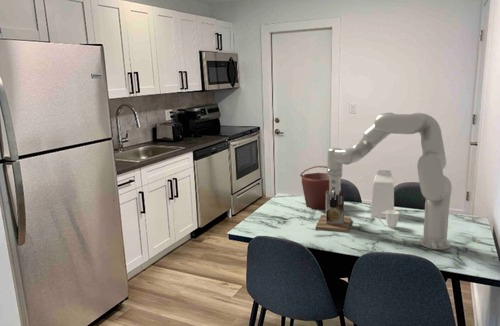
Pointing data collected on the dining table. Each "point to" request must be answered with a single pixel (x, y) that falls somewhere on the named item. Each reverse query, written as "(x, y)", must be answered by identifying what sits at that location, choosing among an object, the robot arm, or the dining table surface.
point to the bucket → (315, 189)
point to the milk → (382, 193)
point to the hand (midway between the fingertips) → (334, 204)
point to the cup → (391, 218)
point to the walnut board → (333, 225)
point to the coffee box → (335, 209)
